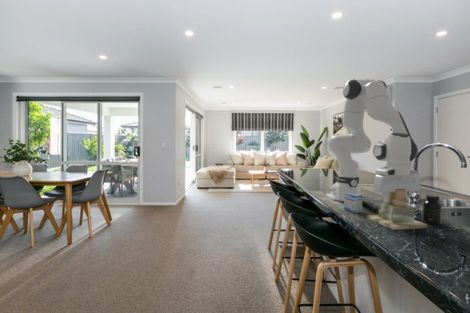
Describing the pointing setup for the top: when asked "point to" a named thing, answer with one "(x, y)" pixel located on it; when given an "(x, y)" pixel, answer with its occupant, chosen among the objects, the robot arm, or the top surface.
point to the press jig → (396, 217)
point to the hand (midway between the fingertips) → (396, 201)
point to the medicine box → (353, 202)
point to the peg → (397, 198)
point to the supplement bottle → (432, 210)
